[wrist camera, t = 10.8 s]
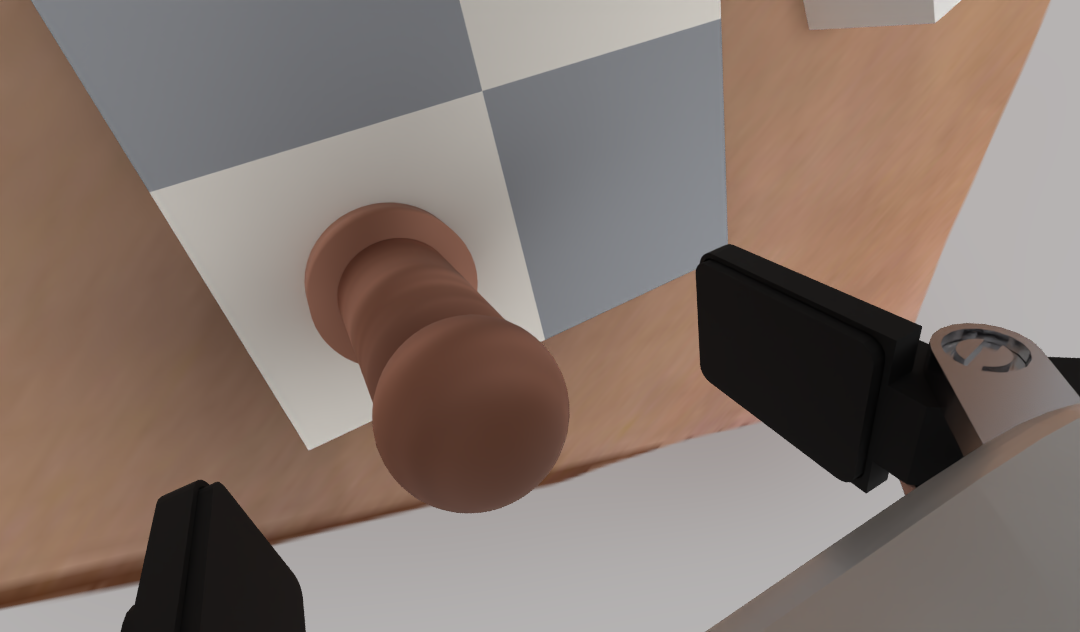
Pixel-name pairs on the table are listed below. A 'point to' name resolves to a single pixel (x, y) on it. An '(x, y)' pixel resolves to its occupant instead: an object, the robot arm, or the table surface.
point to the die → (874, 12)
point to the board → (414, 150)
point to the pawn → (436, 360)
